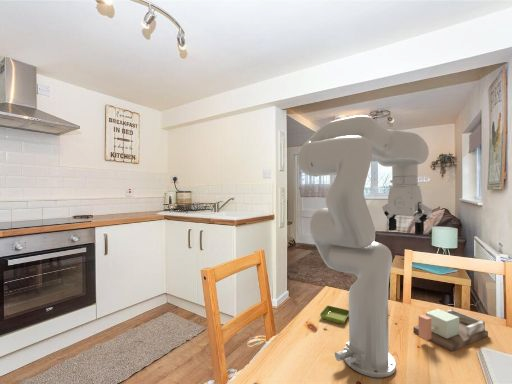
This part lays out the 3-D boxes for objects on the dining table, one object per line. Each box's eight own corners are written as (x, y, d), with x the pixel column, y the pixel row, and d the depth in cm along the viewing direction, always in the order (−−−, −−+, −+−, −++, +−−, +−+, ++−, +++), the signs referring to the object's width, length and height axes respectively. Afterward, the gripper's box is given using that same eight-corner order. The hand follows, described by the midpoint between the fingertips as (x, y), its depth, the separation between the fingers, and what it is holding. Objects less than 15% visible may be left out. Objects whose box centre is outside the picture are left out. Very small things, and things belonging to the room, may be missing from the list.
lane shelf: (451, 351, 71) (451, 337, 71) (413, 331, 81) (413, 318, 81) (488, 336, 78) (487, 322, 78) (448, 319, 88) (448, 308, 88)
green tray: (319, 320, 90) (319, 314, 90) (327, 310, 97) (327, 305, 97) (344, 327, 85) (344, 321, 85) (351, 316, 92) (351, 310, 92)
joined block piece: (433, 343, 72) (433, 322, 72) (412, 333, 77) (412, 313, 77) (459, 333, 76) (459, 313, 76) (438, 324, 82) (438, 305, 82)
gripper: (375, 182, 94) (376, 229, 94) (422, 181, 78) (423, 237, 78) (390, 182, 97) (390, 228, 97) (438, 181, 81) (438, 235, 81)
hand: (405, 232), depth 87 cm, fingers open, 9 cm apart
